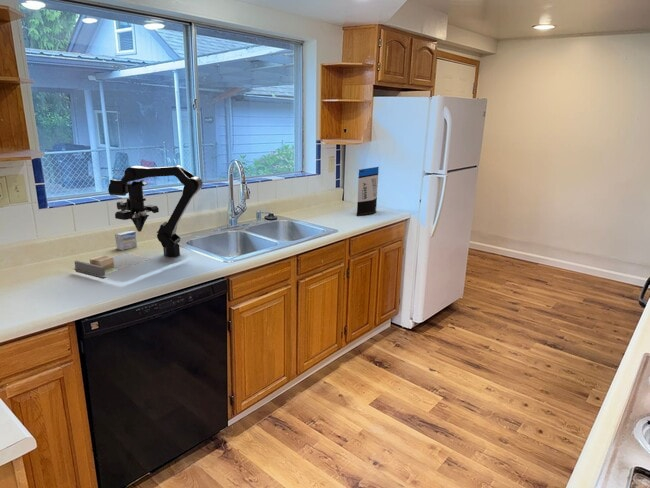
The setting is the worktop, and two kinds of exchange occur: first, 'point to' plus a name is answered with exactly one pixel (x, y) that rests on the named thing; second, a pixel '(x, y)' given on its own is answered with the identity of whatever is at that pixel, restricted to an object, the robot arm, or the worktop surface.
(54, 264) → the worktop surface
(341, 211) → the worktop surface
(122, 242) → the medicine box
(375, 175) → the protein powder
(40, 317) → the worktop surface
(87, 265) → the trap runway
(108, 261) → the maple block
